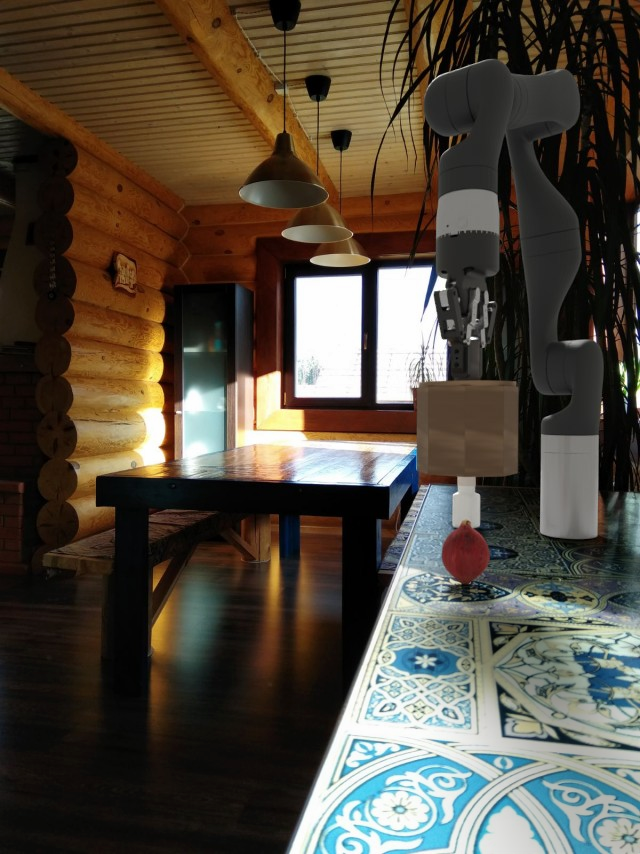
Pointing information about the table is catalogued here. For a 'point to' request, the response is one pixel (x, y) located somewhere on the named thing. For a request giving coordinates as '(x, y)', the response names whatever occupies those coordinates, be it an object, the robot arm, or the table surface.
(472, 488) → the pepper shaker
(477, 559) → the onion
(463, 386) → the tan jar with knob
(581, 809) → the table surface
